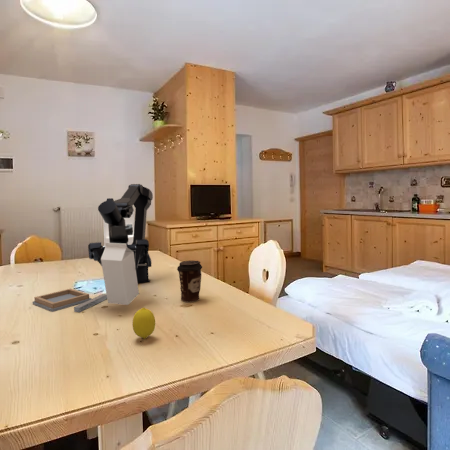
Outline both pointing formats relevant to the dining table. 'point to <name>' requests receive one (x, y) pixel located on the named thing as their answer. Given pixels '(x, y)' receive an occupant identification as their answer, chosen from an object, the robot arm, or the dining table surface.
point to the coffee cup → (190, 280)
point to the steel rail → (90, 303)
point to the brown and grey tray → (61, 299)
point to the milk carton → (119, 273)
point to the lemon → (143, 323)
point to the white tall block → (127, 221)
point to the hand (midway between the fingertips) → (121, 270)
